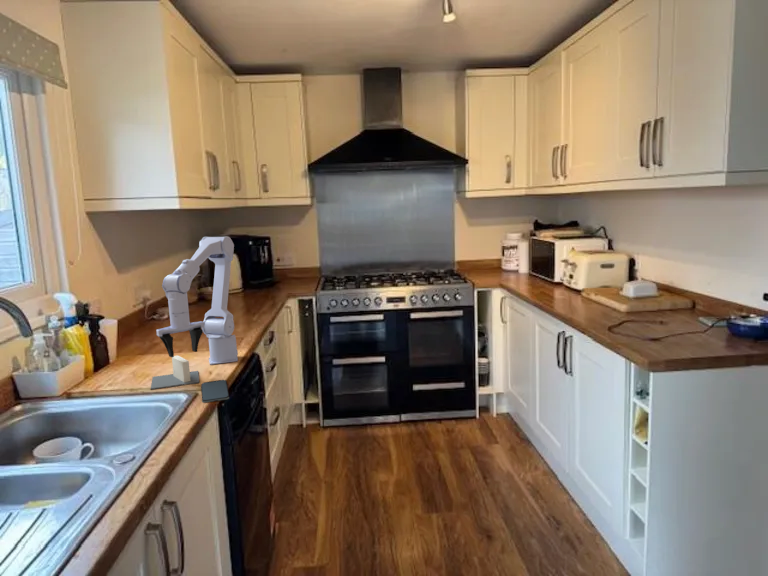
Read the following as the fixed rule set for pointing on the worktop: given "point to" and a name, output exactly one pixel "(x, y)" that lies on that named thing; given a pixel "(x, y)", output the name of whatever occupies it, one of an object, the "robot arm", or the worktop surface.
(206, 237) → the robot arm
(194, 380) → the mat
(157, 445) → the worktop surface
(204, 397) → the smartphone
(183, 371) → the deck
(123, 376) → the worktop surface
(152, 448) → the worktop surface
